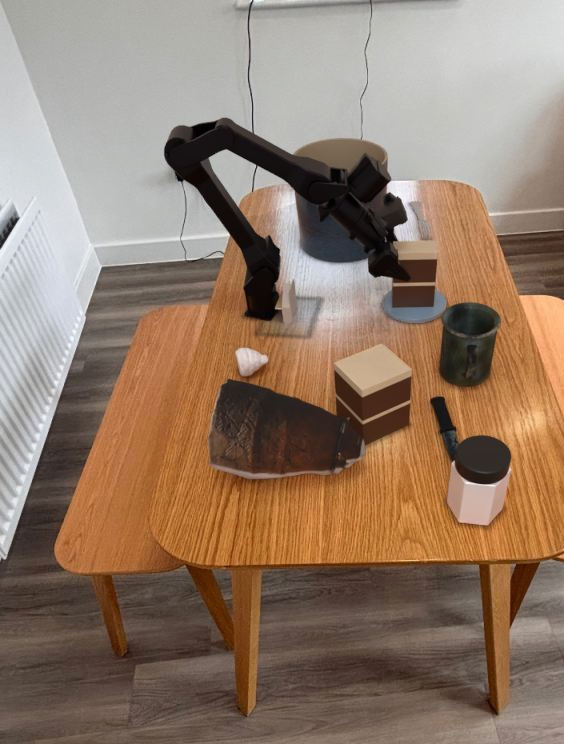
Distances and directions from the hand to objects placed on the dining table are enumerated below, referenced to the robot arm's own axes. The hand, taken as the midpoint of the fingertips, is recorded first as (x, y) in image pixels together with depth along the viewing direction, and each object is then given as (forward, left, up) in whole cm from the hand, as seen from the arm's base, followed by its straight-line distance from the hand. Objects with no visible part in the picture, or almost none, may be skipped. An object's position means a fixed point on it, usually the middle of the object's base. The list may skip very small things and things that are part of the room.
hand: (407, 268), depth 135 cm
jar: (+29, -52, -9) cm, 60 cm away
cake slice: (+1, +1, -8) cm, 8 cm away
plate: (+2, +1, -9) cm, 9 cm away
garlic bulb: (-21, -32, -9) cm, 40 cm away
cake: (+6, -39, -9) cm, 40 cm away
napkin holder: (-23, -12, -9) cm, 27 cm away
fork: (-9, +40, -9) cm, 42 cm away
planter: (-24, +23, -9) cm, 34 cm away
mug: (+19, -20, -9) cm, 29 cm away
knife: (+21, -38, -9) cm, 44 cm away
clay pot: (-3, -53, -9) cm, 54 cm away
